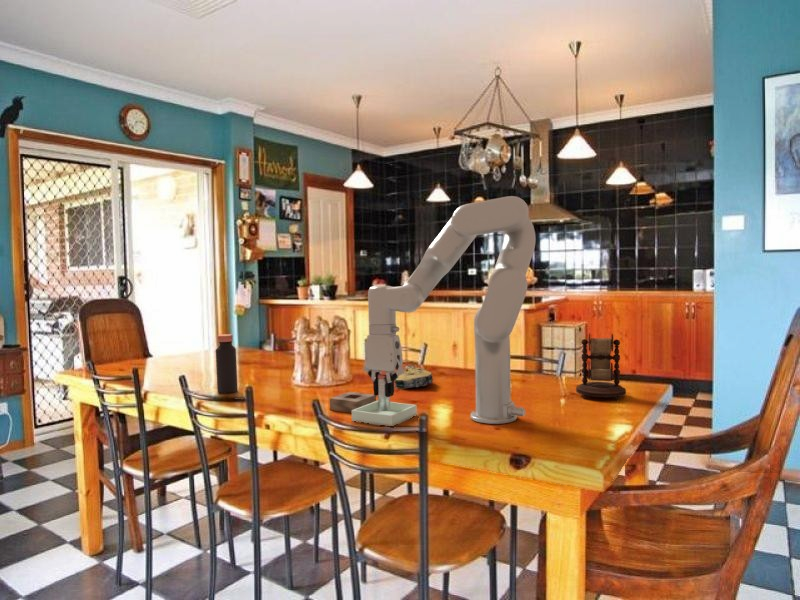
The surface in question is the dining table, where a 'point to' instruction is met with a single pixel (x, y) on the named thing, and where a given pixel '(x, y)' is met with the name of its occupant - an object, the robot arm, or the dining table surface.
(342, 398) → the block
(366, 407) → the tray
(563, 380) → the dining table surface
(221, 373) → the bottle
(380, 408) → the pin
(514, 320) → the robot arm
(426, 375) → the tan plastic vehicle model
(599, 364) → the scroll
